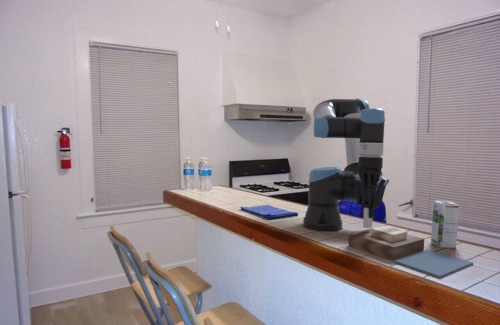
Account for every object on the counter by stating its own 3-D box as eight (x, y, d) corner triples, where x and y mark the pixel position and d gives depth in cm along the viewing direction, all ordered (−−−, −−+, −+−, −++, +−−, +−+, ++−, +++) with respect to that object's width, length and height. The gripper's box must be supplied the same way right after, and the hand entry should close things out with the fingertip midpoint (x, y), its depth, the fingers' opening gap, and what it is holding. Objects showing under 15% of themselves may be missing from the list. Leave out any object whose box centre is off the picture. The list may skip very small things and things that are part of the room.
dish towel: (268, 221, 142) (268, 214, 142) (239, 210, 162) (239, 204, 162) (299, 217, 152) (299, 210, 151) (268, 207, 171) (268, 201, 171)
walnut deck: (348, 245, 110) (348, 233, 110) (378, 238, 119) (379, 227, 119) (393, 260, 97) (394, 247, 97) (423, 251, 106) (424, 238, 105)
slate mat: (392, 262, 96) (392, 260, 96) (426, 251, 106) (427, 249, 106) (439, 278, 85) (440, 275, 85) (472, 264, 95) (473, 262, 95)
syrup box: (429, 242, 115) (432, 200, 114) (447, 242, 115) (450, 200, 114) (438, 247, 110) (441, 203, 109) (457, 248, 110) (460, 203, 109)
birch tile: (370, 235, 108) (371, 228, 108) (384, 232, 112) (384, 225, 112) (393, 241, 102) (394, 234, 101) (407, 238, 105) (407, 231, 105)
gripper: (347, 155, 115) (344, 224, 116) (380, 157, 104) (377, 233, 105) (361, 155, 119) (358, 221, 120) (395, 157, 108) (392, 230, 110)
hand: (367, 227), depth 113 cm, fingers closed
